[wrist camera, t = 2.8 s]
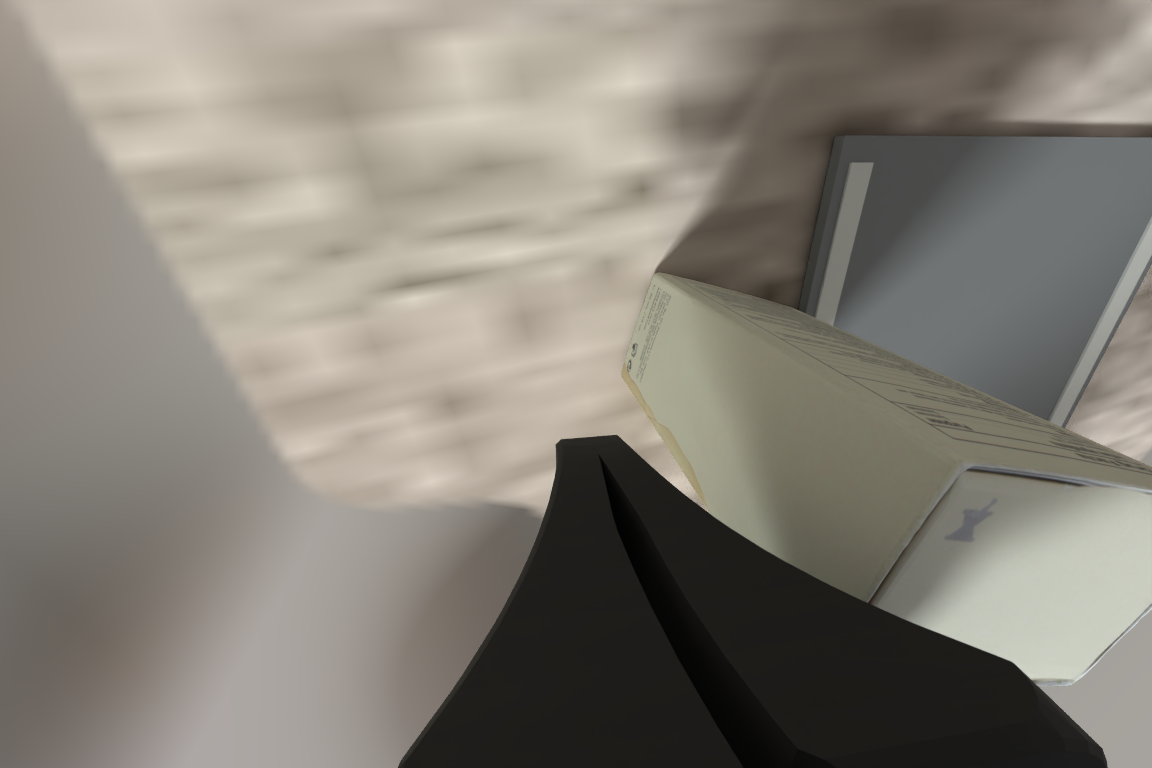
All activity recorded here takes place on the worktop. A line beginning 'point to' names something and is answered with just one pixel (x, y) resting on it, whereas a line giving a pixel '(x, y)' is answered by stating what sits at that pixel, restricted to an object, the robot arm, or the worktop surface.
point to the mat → (985, 255)
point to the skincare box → (897, 478)
